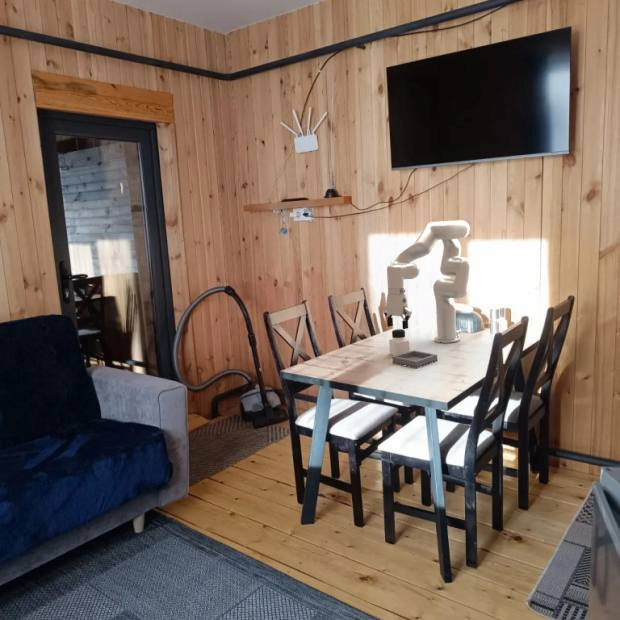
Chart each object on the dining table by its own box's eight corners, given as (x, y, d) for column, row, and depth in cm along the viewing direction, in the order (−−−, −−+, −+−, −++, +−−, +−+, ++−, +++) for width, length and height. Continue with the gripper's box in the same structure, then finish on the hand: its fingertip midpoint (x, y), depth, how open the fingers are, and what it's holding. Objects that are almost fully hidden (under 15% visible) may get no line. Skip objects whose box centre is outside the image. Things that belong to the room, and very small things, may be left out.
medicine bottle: (409, 354, 275) (408, 330, 273) (396, 357, 273) (394, 332, 271) (403, 351, 282) (401, 327, 280) (389, 354, 280) (388, 329, 277)
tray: (413, 356, 272) (413, 350, 271) (437, 361, 261) (437, 354, 260) (392, 363, 263) (392, 356, 263) (416, 368, 252) (416, 361, 252)
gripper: (415, 291, 267) (417, 328, 270) (388, 289, 281) (389, 324, 284) (404, 293, 263) (406, 331, 266) (377, 291, 276) (379, 326, 279)
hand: (397, 327), depth 275 cm, fingers open, 9 cm apart
